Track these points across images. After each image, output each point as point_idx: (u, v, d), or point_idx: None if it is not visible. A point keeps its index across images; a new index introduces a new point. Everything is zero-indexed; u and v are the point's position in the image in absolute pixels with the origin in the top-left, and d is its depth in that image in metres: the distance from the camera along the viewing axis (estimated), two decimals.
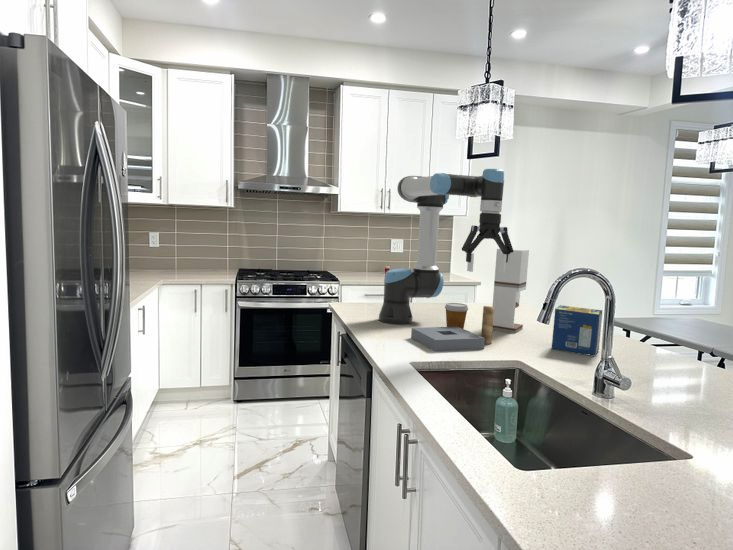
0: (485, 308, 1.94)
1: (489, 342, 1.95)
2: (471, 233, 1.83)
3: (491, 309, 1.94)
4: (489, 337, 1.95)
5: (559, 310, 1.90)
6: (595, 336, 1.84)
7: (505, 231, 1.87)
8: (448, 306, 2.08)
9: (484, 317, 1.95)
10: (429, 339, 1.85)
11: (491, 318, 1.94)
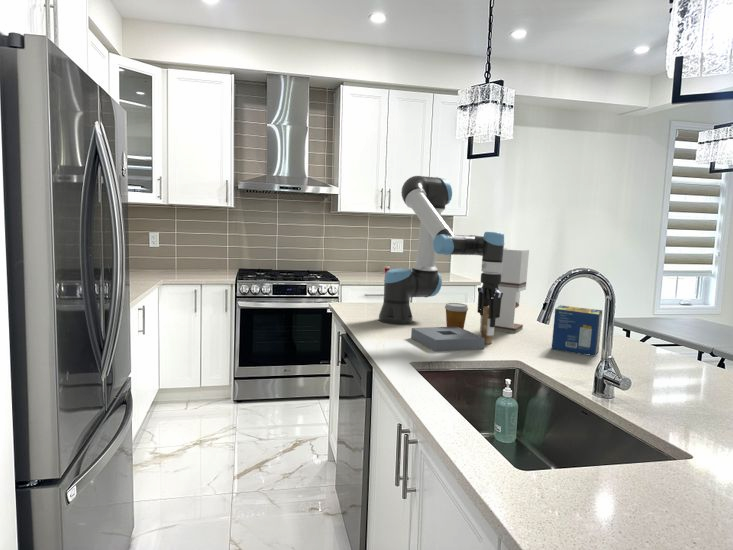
0: (485, 308, 1.94)
1: (489, 342, 1.95)
2: None
3: None
4: (489, 337, 1.95)
5: (559, 310, 1.90)
6: (595, 336, 1.84)
7: (495, 295, 1.90)
8: (448, 306, 2.08)
9: (484, 317, 1.95)
10: (429, 339, 1.85)
11: None
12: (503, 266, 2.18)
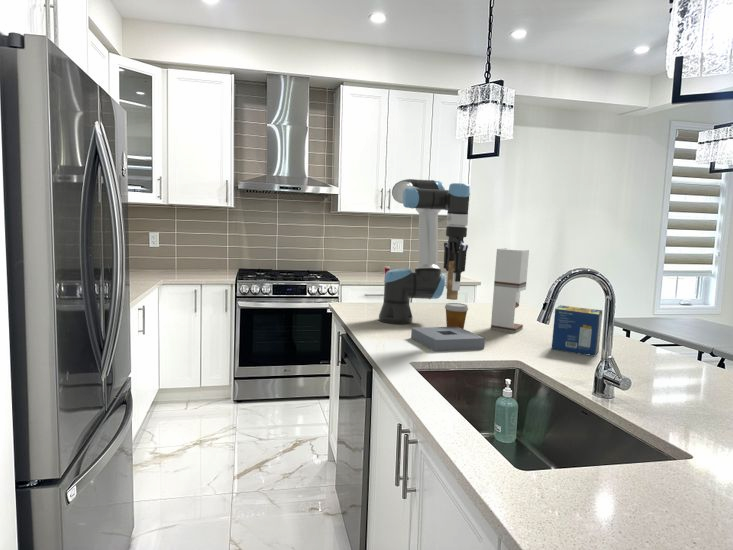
0: (450, 262, 1.89)
1: (455, 297, 1.90)
2: None
3: None
4: (455, 292, 1.90)
5: (559, 310, 1.90)
6: (595, 336, 1.84)
7: (460, 248, 1.85)
8: (448, 306, 2.08)
9: (449, 272, 1.90)
10: (429, 339, 1.85)
11: None
12: (503, 266, 2.18)
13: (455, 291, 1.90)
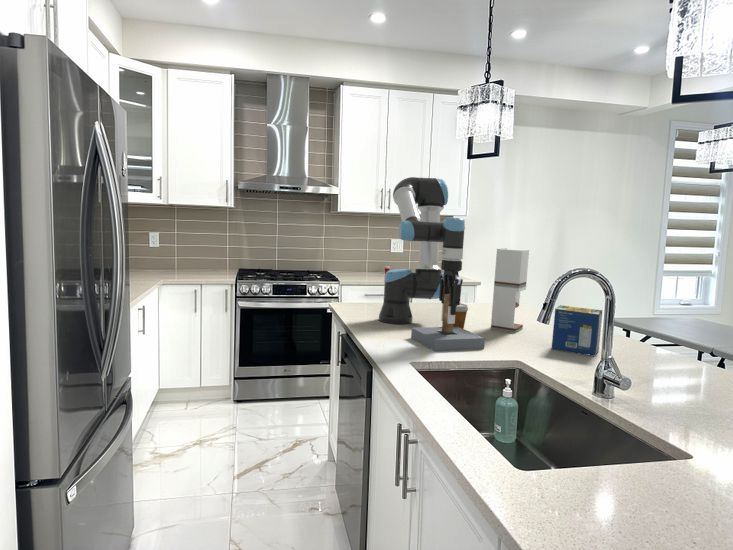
0: (446, 295, 1.90)
1: (450, 330, 1.91)
2: None
3: None
4: (450, 325, 1.91)
5: (559, 310, 1.90)
6: (595, 336, 1.84)
7: (455, 282, 1.86)
8: None
9: (445, 305, 1.91)
10: (429, 339, 1.85)
11: None
12: (503, 266, 2.18)
13: (450, 324, 1.91)
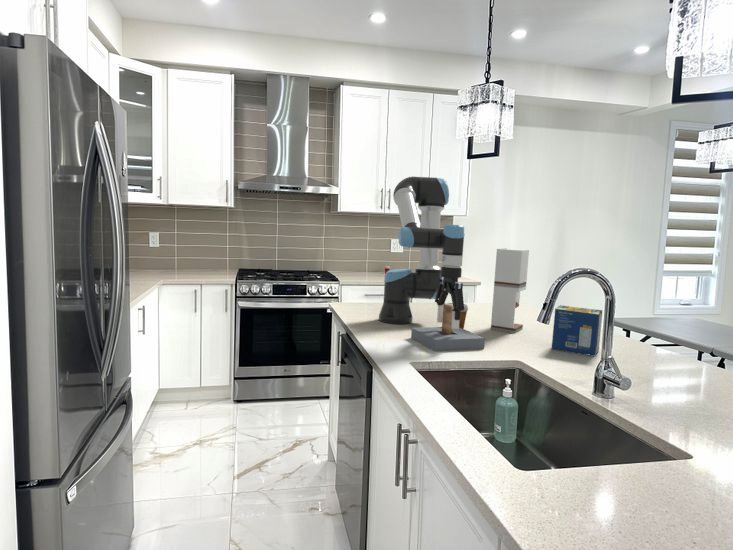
0: (445, 306, 1.91)
1: None
2: None
3: (451, 307, 1.90)
4: None
5: (559, 310, 1.90)
6: (595, 336, 1.84)
7: (455, 287, 1.85)
8: None
9: (444, 315, 1.91)
10: (429, 339, 1.85)
11: (451, 316, 1.91)
12: (503, 266, 2.18)
13: None
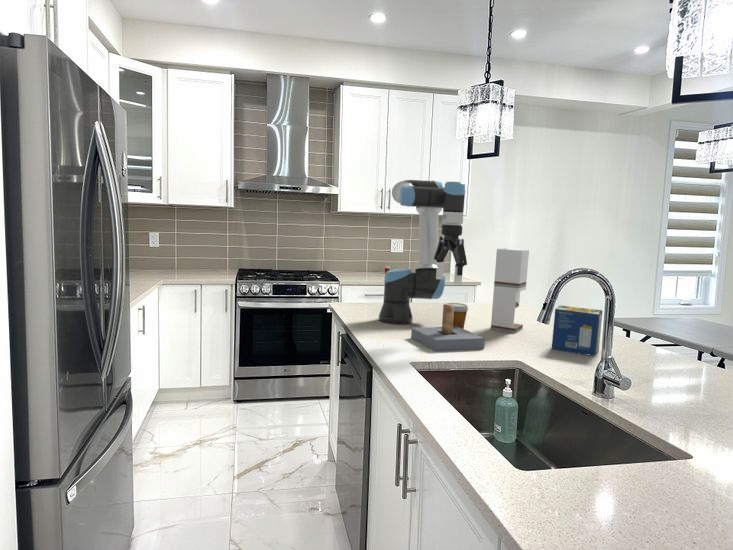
0: (445, 306, 1.91)
1: None
2: None
3: (451, 307, 1.90)
4: None
5: (559, 310, 1.90)
6: (595, 336, 1.84)
7: (456, 243, 1.84)
8: None
9: (444, 315, 1.91)
10: (429, 339, 1.85)
11: (451, 316, 1.91)
12: (503, 266, 2.18)
13: None
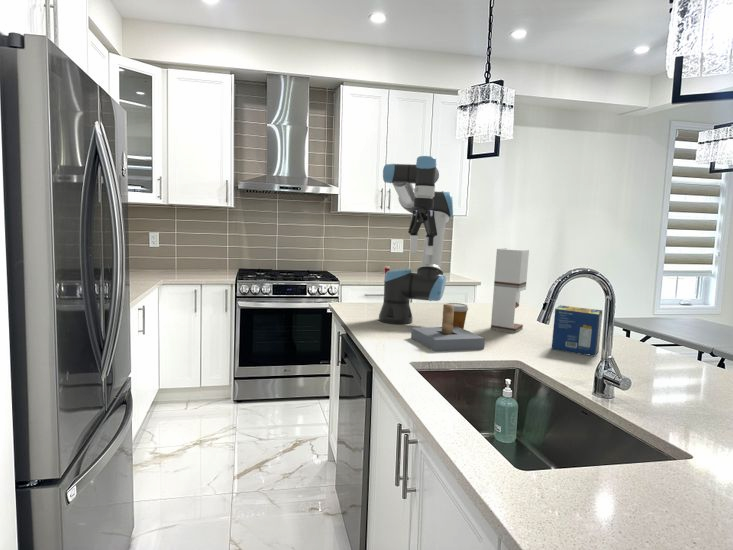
0: (445, 306, 1.91)
1: None
2: None
3: (451, 307, 1.90)
4: None
5: (559, 310, 1.90)
6: (595, 336, 1.84)
7: (427, 214, 1.91)
8: None
9: (444, 315, 1.91)
10: (429, 339, 1.85)
11: (451, 316, 1.91)
12: (503, 266, 2.18)
13: None
